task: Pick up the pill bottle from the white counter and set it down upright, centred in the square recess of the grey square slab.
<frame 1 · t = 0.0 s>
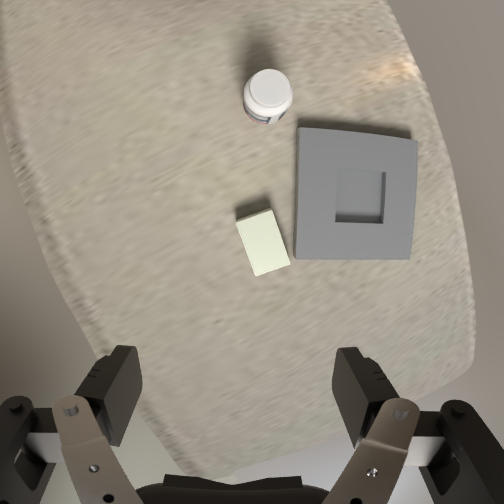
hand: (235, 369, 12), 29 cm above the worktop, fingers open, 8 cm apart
pill bottle: (264, 104, 37), on the worktop
soap bar: (262, 239, 41), on the worktop
grey square slab: (356, 195, 40), on the worktop
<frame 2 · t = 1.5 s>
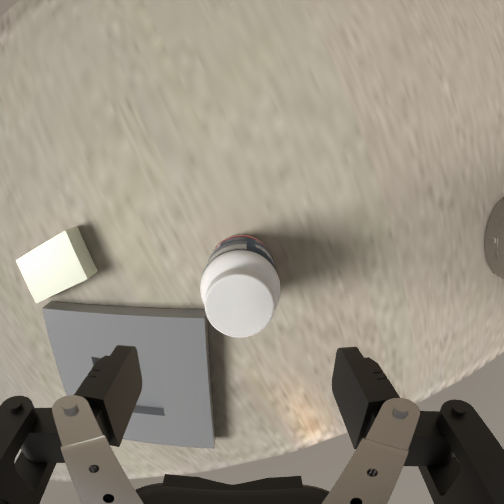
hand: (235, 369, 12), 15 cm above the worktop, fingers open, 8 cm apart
pill bottle: (241, 264, 27), on the worktop
soap bar: (62, 261, 27), on the worktop
grey square slab: (133, 377, 29), on the worktop
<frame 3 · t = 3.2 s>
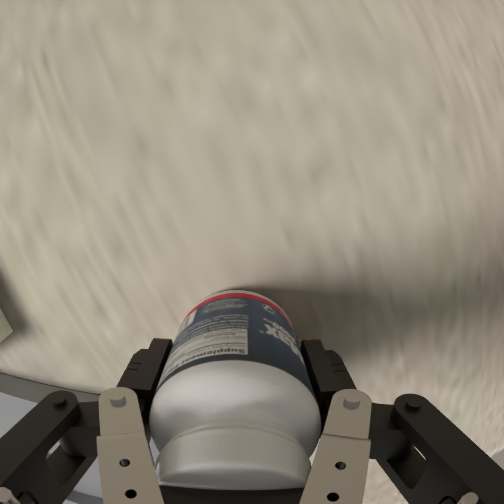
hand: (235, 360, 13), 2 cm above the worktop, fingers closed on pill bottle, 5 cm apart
pill bottle: (237, 338, 15), on the worktop, touching gripper
grey square slab: (87, 468, 17), on the worktop
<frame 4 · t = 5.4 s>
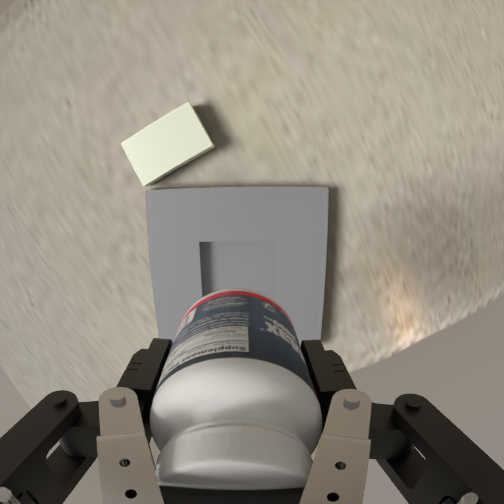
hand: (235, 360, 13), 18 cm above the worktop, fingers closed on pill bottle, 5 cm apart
pill bottle: (237, 336, 15), point 16 cm above the worktop, touching gripper
soap bar: (171, 145, 28), on the worktop
grey square slab: (238, 271, 31), on the worktop
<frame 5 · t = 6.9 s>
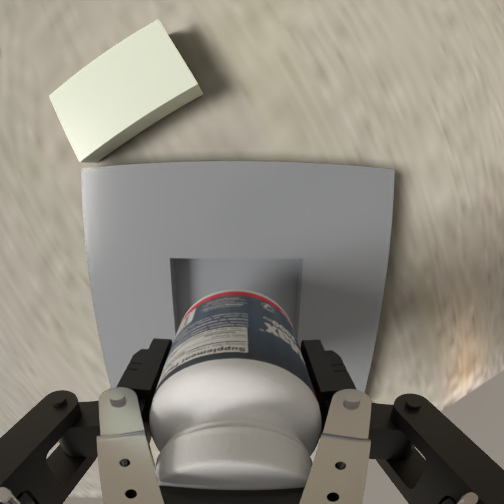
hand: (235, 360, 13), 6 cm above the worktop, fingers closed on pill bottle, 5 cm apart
pill bottle: (236, 337, 15), point 4 cm above the worktop, touching gripper
soap bar: (131, 97, 16), on the worktop
grey square slab: (236, 306, 18), on the worktop
when the fingers open (3 cm above the worktop, at t = 7.9 s): pill bottle stays where it is, resting on grey square slab.
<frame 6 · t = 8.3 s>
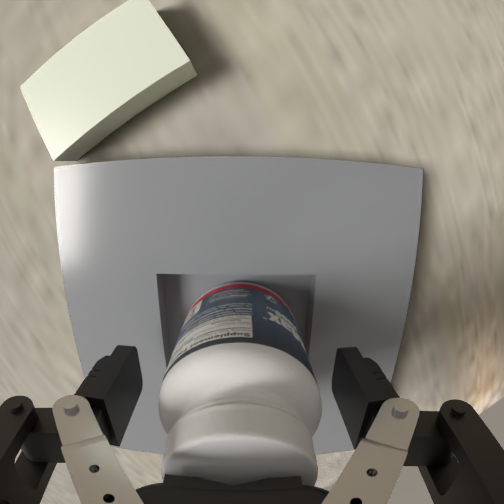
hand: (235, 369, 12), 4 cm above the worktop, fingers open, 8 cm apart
pill bottle: (240, 329, 15), resting on grey square slab
soap bar: (114, 83, 13), on the worktop
grey square slab: (236, 327, 16), on the worktop
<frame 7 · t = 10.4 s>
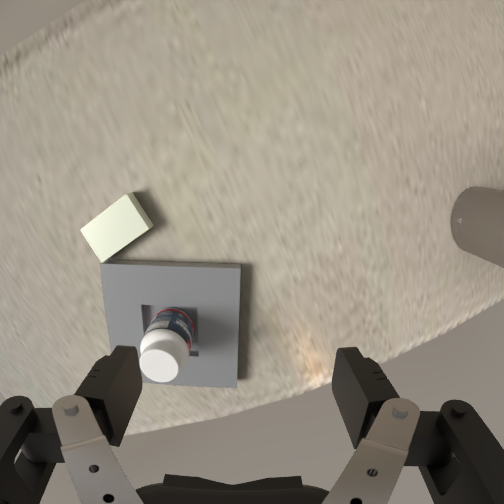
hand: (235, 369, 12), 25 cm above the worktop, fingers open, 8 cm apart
pill bottle: (173, 325, 38), resting on grey square slab
soap bar: (120, 225, 35), on the worktop
grey square slab: (172, 324, 38), on the worktop
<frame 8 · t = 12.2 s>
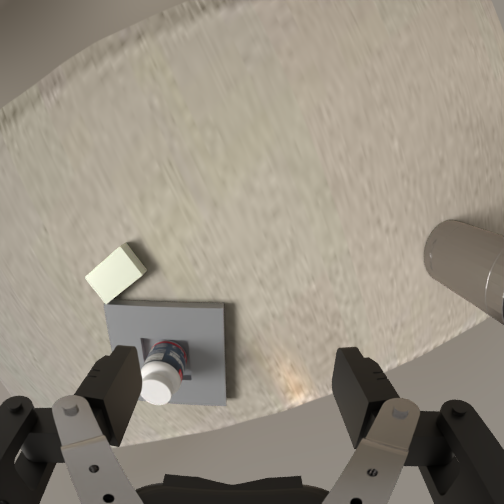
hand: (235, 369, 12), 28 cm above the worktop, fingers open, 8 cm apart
pill bottle: (169, 354, 43), resting on grey square slab
soap bar: (119, 270, 40), on the worktop
grey square slab: (168, 353, 43), on the worktop
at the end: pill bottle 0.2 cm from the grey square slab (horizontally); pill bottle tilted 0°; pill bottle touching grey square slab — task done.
